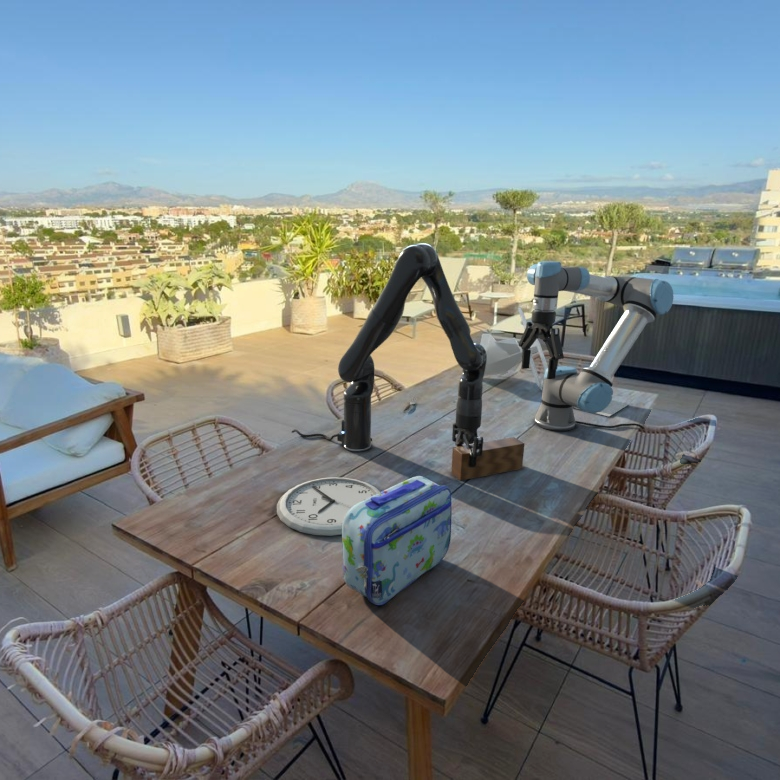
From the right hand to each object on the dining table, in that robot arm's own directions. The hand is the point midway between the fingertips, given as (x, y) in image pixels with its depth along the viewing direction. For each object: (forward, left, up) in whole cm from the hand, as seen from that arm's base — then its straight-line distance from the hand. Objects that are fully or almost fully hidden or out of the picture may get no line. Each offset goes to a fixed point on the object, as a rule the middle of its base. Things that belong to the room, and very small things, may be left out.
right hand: (537, 373), depth 176 cm
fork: (+45, -35, -27) cm, 63 cm away
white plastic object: (+1, -77, -27) cm, 82 cm away
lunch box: (+38, +78, -27) cm, 91 cm away
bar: (+16, +22, -27) cm, 38 cm away
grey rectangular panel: (-37, -49, -27) cm, 67 cm away
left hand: (+23, +26, -22) cm, 41 cm away
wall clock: (+60, +50, -27) cm, 82 cm away
